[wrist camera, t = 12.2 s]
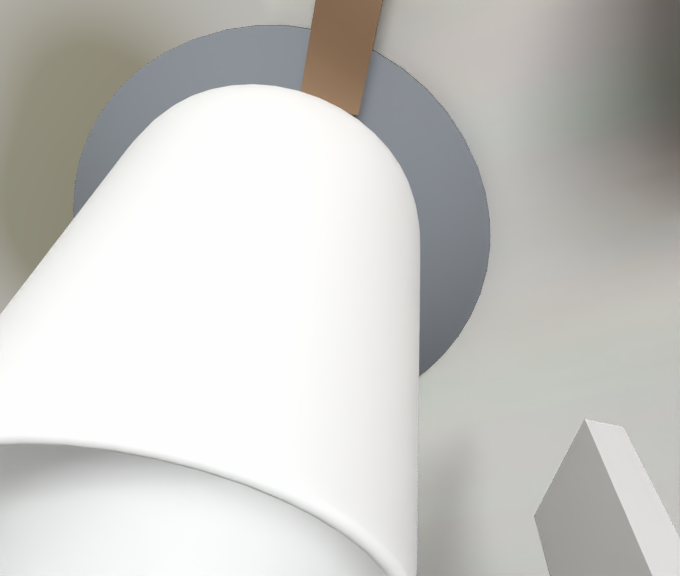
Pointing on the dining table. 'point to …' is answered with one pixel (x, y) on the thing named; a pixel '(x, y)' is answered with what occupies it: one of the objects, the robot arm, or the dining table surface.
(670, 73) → the dining table surface
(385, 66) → the coaster
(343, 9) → the cradle
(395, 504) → the mug
